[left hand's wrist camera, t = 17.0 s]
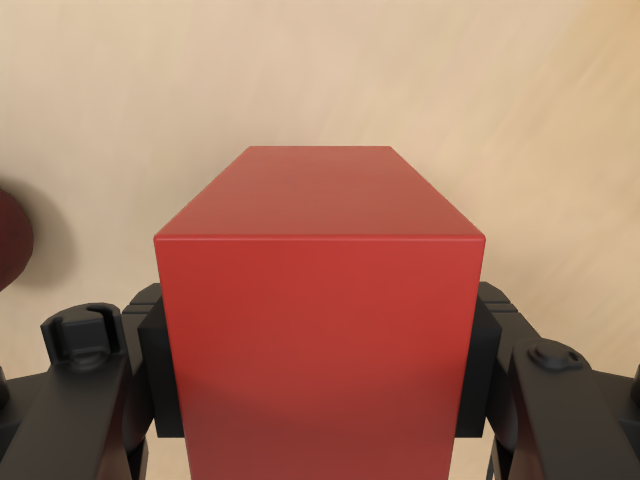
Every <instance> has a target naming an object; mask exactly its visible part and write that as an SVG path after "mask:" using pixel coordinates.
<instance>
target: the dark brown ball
mask: <svg viewBox="0 0 640 480" xmlns="http://www.w3.org/2000/svg"><path fill="white" fill-rule="evenodd" d="M32 250H33V234H32V228H31V225H30V223H29V220H28V218H27V216H26V215H25V213H24V211H23V209H22V207H21V206H20V204H19V203H18V202H17V201H16V200H15V199H14V198H13V197H12V196H11V195H10V194H8V193H6V192H4V191H2V190H1V189H0V292H1V291H2V290H3V289H4V288H6V287H7V286H8V285H9V284H10V283H12V282H13V281H14V280H15V279H16V278H17V277H18V276H19V275H20V274H21V273H22V272H23V270H24V269H25V267H26V265H27V263H28V261H29V259H30V257H31V255H32Z"/></svg>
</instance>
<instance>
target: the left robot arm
mask: <svg viewBox="0 0 640 480" xmlns="http://www.w3.org/2000/svg"><path fill="white" fill-rule="evenodd" d="M40 328H41V331H42V334H43V338H44V341H45V345H46V348H47V352H48V355H49V358H50V362H51V365H50V367H49V369H48V371H47V372H44V373H40V374H35V375H30V376H25V377H20V378H15V379H10V380H6V379H5V376H4V373H3V370H2V367H1V366H0V480H145V477H146V469H147V461H148V446H147V440H146V436H145V435H146V433H147V431H148V429H149V427H150V424H151V422H152V420H153V418H154V420H155V426H156V431H157V436H158V438H185V436H184V429H183V423H182V417H181V410H180V404H179V398H178V391H177V385H176V379H175V372H174V366H173V360H172V354H171V347H170V341H169V335H168V328H167V322H166V316H165V309H164V303H163V297H162V290H161V284H160V283H153V284H152V285H150V286H148V287H147V288H145V289H143V290H142V291H140V292H138V294H137V295H136V296H135V297H134V298H133V299H132V301H131V302H130V304H129V305H127V307H126V308H125V309H124V310H123V311H122V314H121V313H120V309H119V308H117V307H116V306H115V305H113V304H108V303H88V304H83V305H78V306H74V307H71V308H68V309H65V310H63V311H60V312H58V313H56V314H55V315H53V316H51V317H49V318H48V319H47V320H46V321H45V322H44V323H43V324H42V325H41V326H40ZM486 417H487V419H488V421H489V423H490V425H491V427H492V429H493V431H494V433H495V436H494V440H493V445H492V450H491V455H490V460H489V465H488V470H487V476H486V480H492V478H493V473H494V476H495V480H640V364H639V366H638V369H637V372H636V375H635V378H629V377H624V376H619V375H614V374H609V373H604V372H599V371H595V370H592V368H591V367H590V365H589V363H588V362H587V361H586V359H585V358H584V357H583V356H582V355H581V354H580V353H578V352H577V351H575V350H574V349H572V348H571V347H569V346H566V345H564V344H562V343H559V342H557V341H553V340H549V339H545V338H541V336H540V335H539V334H538V333H537V332H536V331H535V329H534V328H533V327H532V326H531V325H530V324H529V322H528V321H527V320H526V319H525V318H524V317H523V316H522V314H521V313H518V310H517V309H516V307H515V306H514V305H513V304H511V303H510V300H509V299H508V298H507V297H506V296H505V295H504V293H503V292H502V291H501V290H499V289H497V288H496V287H494V286H492V285H491V284H489V283H487V282H479V286H478V293H477V299H476V305H475V312H474V318H473V324H472V331H471V337H470V343H469V350H468V356H467V362H466V369H465V375H464V381H463V388H462V394H461V400H460V406H459V413H458V419H457V425H456V432H455V438H482V435H483V429H484V424H485V419H486Z"/></svg>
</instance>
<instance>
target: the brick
mask: <svg viewBox="0 0 640 480" xmlns="http://www.w3.org/2000/svg"><path fill="white" fill-rule="evenodd" d="M485 242H486V238H485V235H484V234H483V233H482V232H481V231H479V230H478V229H477V228H476V227H475V226H474V225H473V224H472V223H471V222H470V221H469V220H468V219H467V218H466V217H465V216H464V215H462V214H461V213H460V212H459V211H458V210H457V209H456V208H455V207H454V206H453V205H452V204H451V203H450V202H449V201H448V200H447V199H445V198H444V197H443V196H442V195H441V194H440V193H439V192H438V191H437V190H436V189H435V188H434V187H433V186H432V185H431V184H430V183H429V182H427V181H426V180H425V179H424V178H423V177H422V176H421V175H420V174H419V173H418V172H417V171H416V170H415V169H414V168H413V167H412V166H410V165H409V164H408V163H407V162H406V161H405V160H404V159H403V158H402V157H401V156H400V155H399V154H398V153H397V152H396V151H395V150H393V149H392V148H391V147H390V146H250V147H248V148H247V149H246V150H245V151H244V152H243V153H242V154H241V155H240V156H239V157H238V158H237V159H236V160H235V161H233V162H232V163H231V164H230V165H229V166H228V167H227V168H226V169H225V170H224V171H223V172H222V173H221V174H220V175H219V176H217V177H216V178H215V179H214V180H213V181H212V182H211V183H210V184H209V185H208V186H207V187H206V188H205V189H204V190H203V191H201V192H200V193H199V194H198V195H197V196H196V197H195V198H194V199H193V200H192V201H191V202H190V203H189V204H188V205H187V206H185V207H184V208H183V209H182V210H181V211H180V212H179V213H178V214H177V215H176V216H175V217H174V218H173V219H172V220H170V221H169V222H168V223H167V224H166V225H165V226H164V227H163V228H162V229H161V230H160V231H159V232H158V233H157V234H156V235H155V236H154V246H155V252H156V259H157V265H158V271H159V278H160V284H161V290H162V297H163V303H164V309H165V316H166V322H167V328H168V335H169V341H170V347H171V354H172V360H173V366H174V372H175V379H176V385H177V391H178V398H179V404H180V410H181V417H182V423H183V429H184V436H185V442H186V448H187V455H188V461H189V467H190V474H191V480H448V476H449V470H450V463H451V457H452V451H453V444H454V438H455V432H456V425H457V419H458V413H459V406H460V400H461V394H462V388H463V381H464V375H465V369H466V362H467V356H468V350H469V343H470V337H471V331H472V324H473V318H474V312H475V305H476V299H477V293H478V286H479V280H480V274H481V267H482V261H483V255H484V248H485Z"/></svg>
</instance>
